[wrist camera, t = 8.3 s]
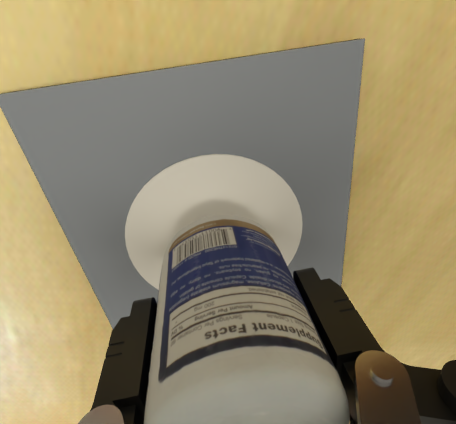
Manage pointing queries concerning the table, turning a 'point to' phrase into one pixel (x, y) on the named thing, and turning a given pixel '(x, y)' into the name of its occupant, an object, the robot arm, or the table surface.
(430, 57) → the table surface
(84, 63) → the table surface
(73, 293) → the table surface
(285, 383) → the pill bottle
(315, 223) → the grey mat
